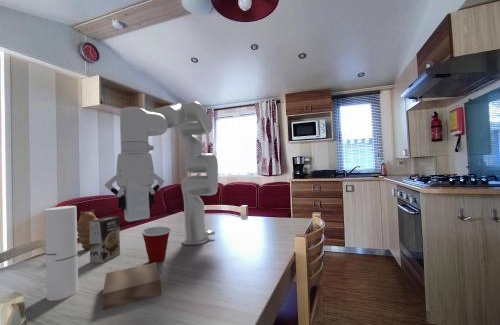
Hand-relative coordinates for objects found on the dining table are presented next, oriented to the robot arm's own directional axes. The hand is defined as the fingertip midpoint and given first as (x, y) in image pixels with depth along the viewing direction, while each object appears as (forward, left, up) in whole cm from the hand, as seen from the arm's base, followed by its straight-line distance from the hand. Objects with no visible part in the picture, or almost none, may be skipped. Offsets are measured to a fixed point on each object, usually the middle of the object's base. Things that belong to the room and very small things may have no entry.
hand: (136, 208), depth 69 cm
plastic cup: (-7, -20, -24) cm, 32 cm away
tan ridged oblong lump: (+19, -53, -24) cm, 61 cm away
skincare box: (0, 0, -4) cm, 4 cm away
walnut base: (+2, 0, -24) cm, 24 cm away
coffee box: (+11, -35, -24) cm, 44 cm away
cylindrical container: (+20, -9, -24) cm, 32 cm away
